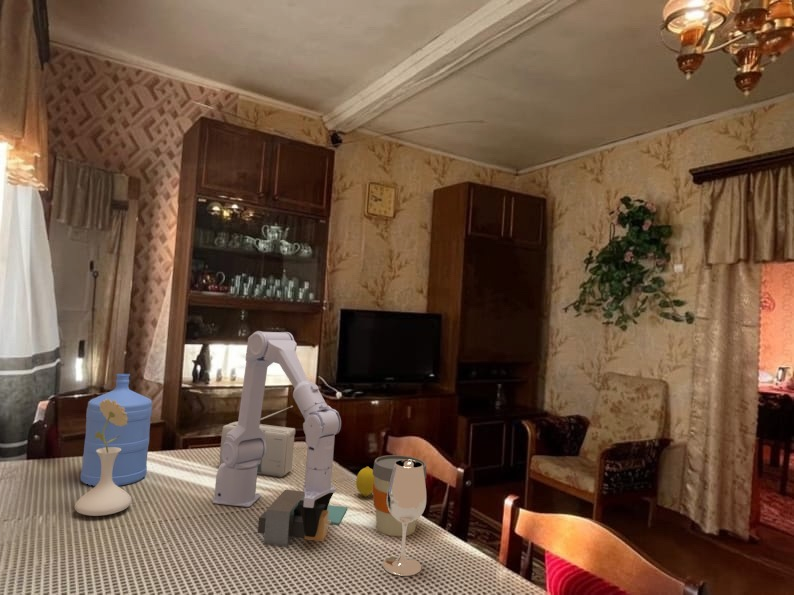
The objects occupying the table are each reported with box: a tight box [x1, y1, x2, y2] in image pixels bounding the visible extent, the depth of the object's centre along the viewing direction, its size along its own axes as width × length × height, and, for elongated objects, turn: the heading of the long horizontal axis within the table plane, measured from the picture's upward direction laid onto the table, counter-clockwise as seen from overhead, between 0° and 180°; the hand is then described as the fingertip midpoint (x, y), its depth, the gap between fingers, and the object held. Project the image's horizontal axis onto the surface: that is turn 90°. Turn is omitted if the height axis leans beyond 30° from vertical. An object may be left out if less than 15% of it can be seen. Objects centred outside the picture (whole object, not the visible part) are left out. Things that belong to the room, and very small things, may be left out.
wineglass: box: [382, 460, 427, 577], centre depth 99 cm, size 8×8×20 cm
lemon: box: [355, 466, 374, 498], centre depth 136 cm, size 6×6×8 cm
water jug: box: [80, 373, 153, 487], centre depth 137 cm, size 16×16×28 cm
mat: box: [327, 504, 348, 526], centre depth 122 cm, size 10×10×1 cm
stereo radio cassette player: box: [219, 405, 296, 478], centre depth 152 cm, size 21×8×20 cm, turn 77°
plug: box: [304, 510, 332, 542], centre depth 110 cm, size 5×4×5 cm
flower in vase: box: [74, 399, 133, 517], centre depth 116 cm, size 13×11×25 cm
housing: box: [263, 489, 305, 547], centre depth 111 cm, size 5×12×7 cm, turn 174°
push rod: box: [257, 511, 305, 539], centre depth 111 cm, size 10×3×4 cm, turn 84°
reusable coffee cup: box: [372, 454, 427, 537], centre depth 117 cm, size 13×13×15 cm
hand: (314, 529), depth 110 cm, fingers open, 6 cm apart
